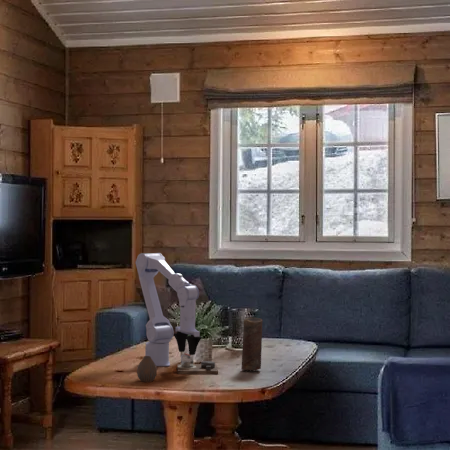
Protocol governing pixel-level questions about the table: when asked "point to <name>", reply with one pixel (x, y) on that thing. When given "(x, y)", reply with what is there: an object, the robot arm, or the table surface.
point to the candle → (252, 344)
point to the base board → (199, 368)
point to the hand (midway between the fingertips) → (186, 353)
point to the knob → (187, 360)
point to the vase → (146, 369)
